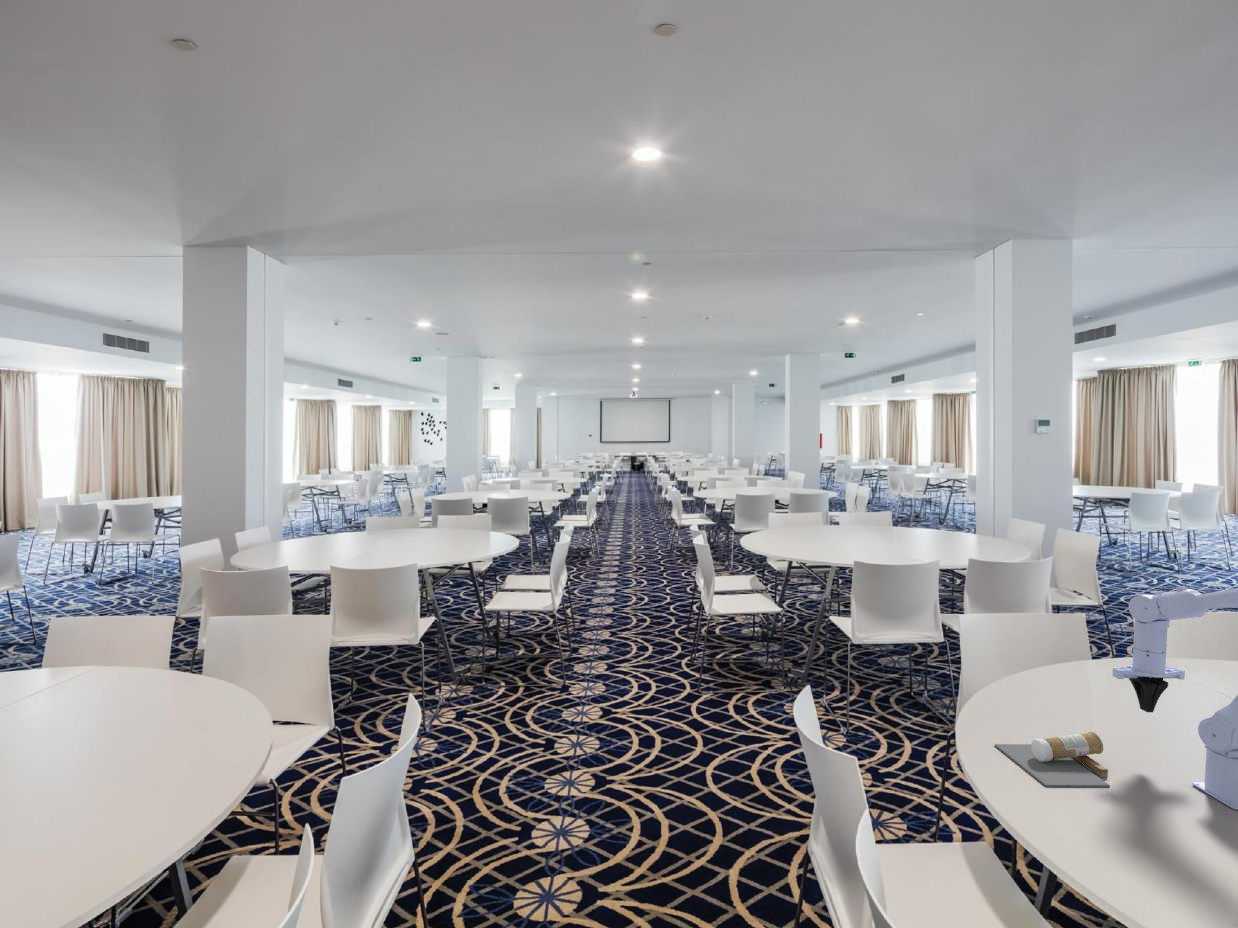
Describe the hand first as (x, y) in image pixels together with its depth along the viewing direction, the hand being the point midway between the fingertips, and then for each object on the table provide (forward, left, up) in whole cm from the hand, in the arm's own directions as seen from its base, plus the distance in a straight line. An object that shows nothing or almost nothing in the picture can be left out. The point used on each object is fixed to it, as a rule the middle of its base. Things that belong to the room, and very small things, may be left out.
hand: (1146, 710), depth 150 cm
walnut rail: (-4, +16, -10) cm, 19 cm away
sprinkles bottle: (-2, +12, -6) cm, 14 cm away
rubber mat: (-4, +24, -10) cm, 26 cm away
